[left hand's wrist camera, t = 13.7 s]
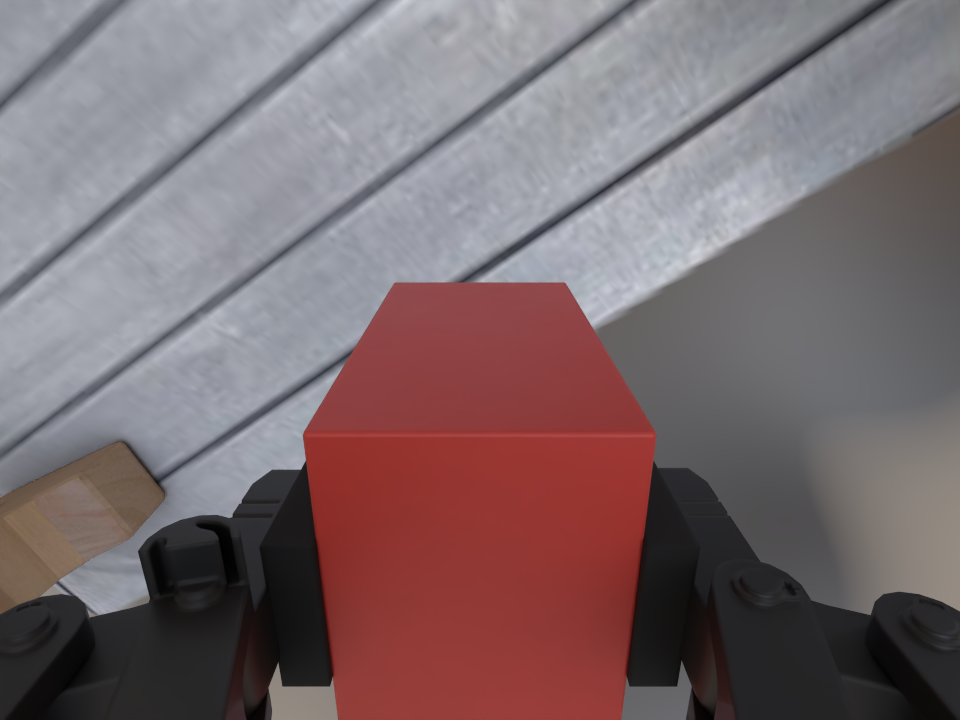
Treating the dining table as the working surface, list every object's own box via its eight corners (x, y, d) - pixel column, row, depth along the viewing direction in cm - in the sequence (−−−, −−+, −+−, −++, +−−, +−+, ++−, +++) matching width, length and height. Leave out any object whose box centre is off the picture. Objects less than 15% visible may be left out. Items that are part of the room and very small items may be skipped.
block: (565, 281, 16) (659, 432, 8) (555, 480, 18) (617, 760, 10) (393, 281, 16) (300, 432, 8) (404, 480, 18) (342, 760, 10)
